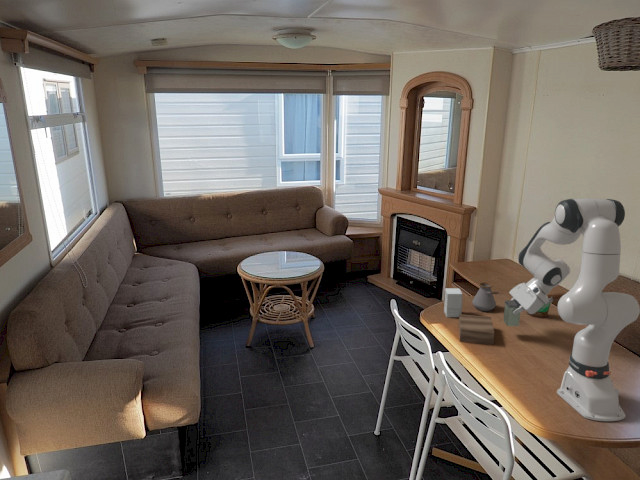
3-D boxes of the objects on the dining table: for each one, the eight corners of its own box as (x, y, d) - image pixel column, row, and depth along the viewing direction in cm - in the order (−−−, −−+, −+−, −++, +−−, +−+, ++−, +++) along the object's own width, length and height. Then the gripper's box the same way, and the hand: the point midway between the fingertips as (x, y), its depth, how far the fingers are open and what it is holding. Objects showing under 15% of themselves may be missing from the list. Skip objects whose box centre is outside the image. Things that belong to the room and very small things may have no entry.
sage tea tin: (519, 326, 206) (521, 305, 203) (507, 326, 206) (509, 305, 203) (514, 320, 211) (516, 300, 208) (503, 320, 211) (505, 300, 208)
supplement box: (458, 311, 235) (460, 288, 231) (461, 317, 228) (463, 294, 224) (443, 310, 236) (445, 287, 232) (445, 317, 229) (447, 293, 225)
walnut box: (493, 345, 203) (494, 333, 201) (459, 342, 206) (460, 329, 204) (489, 328, 217) (491, 317, 216) (458, 325, 221) (459, 314, 219)
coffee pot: (468, 303, 244) (470, 276, 239) (490, 303, 244) (492, 276, 240) (483, 322, 223) (486, 293, 219) (507, 321, 223) (510, 292, 219)
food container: (524, 317, 227) (527, 298, 224) (523, 312, 233) (525, 293, 230) (552, 320, 224) (555, 301, 221) (550, 315, 229) (553, 296, 227)
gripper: (521, 276, 213) (498, 296, 216) (541, 293, 194) (515, 315, 196) (530, 285, 214) (506, 305, 217) (550, 303, 195) (524, 324, 198)
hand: (511, 310), depth 207 cm, fingers closed on sage tea tin, 5 cm apart
